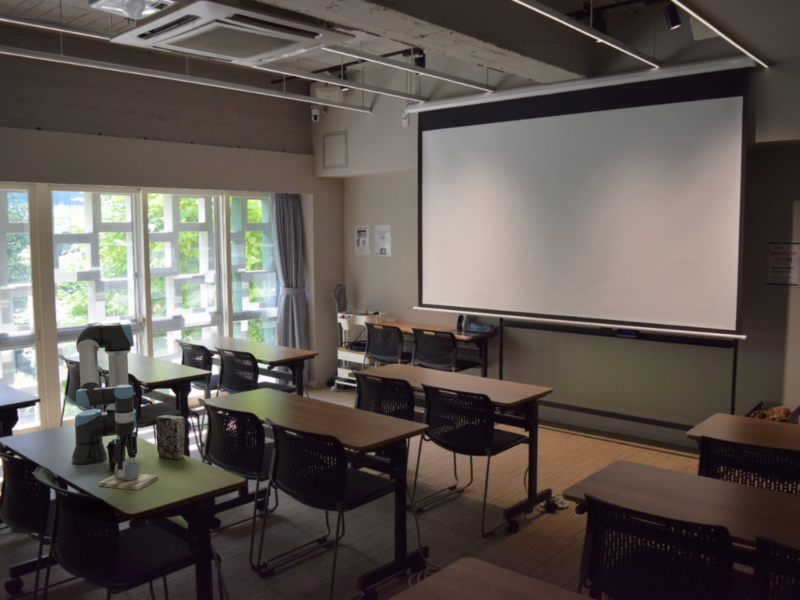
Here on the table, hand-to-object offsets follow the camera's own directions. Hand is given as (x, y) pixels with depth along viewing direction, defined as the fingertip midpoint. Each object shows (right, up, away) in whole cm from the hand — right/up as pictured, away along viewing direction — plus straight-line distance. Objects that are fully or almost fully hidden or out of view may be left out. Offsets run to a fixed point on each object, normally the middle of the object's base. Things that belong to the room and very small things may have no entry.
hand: (126, 474), depth 288 cm
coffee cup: (-11, -2, +17) cm, 20 cm away
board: (+1, -4, 0) cm, 4 cm away
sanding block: (0, -2, 0) cm, 2 cm away
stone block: (+7, -1, +35) cm, 35 cm away
